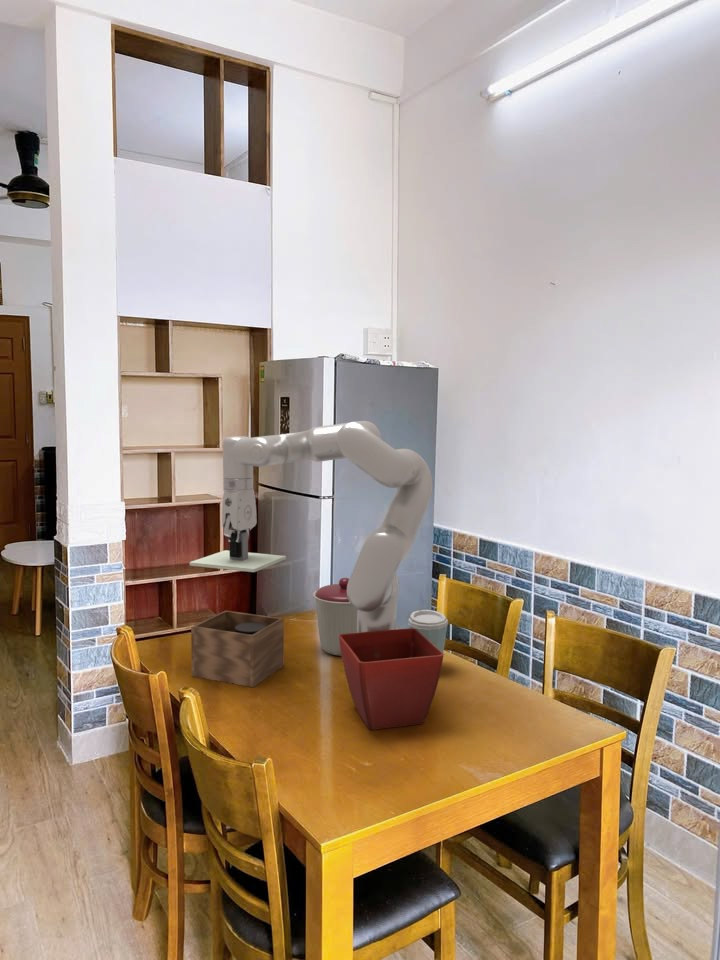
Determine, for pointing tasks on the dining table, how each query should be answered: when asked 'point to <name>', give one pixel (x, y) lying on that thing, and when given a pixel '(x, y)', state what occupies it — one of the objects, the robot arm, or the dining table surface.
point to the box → (237, 648)
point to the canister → (334, 615)
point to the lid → (239, 559)
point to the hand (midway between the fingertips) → (238, 555)
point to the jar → (249, 628)
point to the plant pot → (391, 675)
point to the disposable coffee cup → (430, 626)
